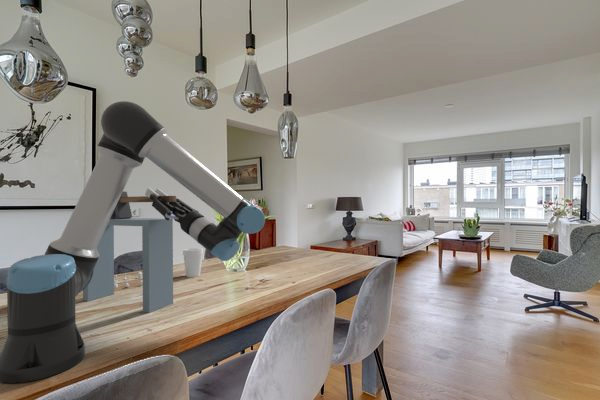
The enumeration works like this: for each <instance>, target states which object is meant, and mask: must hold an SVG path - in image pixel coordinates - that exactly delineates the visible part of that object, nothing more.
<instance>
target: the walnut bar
mask: <svg viewBox="0 0 600 400" xmlns="http://www.w3.org/2000/svg"><path fill="white" fill-rule="evenodd" d="M161 199H163V200H164V201H166V202H176V199H177V196H176V195H168V196H161ZM120 202H129V203H153V201H152V200H151V199H150V198H149V197H147V196H146V195H145V196H140V195H139V196H128V197H120Z"/></svg>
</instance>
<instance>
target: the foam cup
mask: <svg viewBox="0 0 600 400" xmlns="http://www.w3.org/2000/svg"><path fill="white" fill-rule="evenodd" d="M203 254H204V247H187V248H183V249H182V256H183V261H184V262H183V263H184V268H185V269H184V270H185V275H186V277H187V278H196V277H200V275H201V270H202V261H203V256H204V255H203Z"/></svg>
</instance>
